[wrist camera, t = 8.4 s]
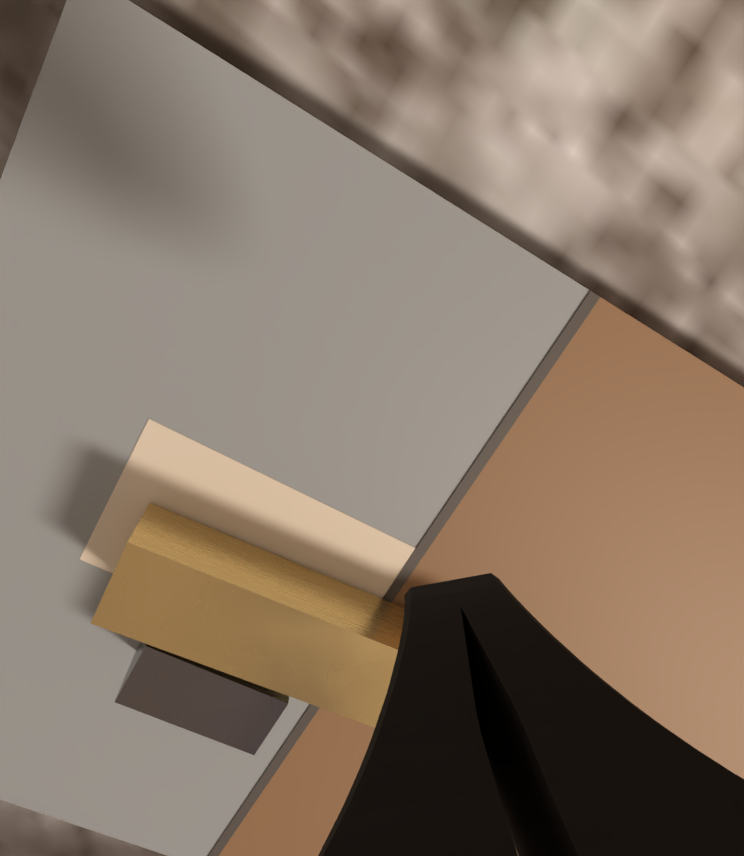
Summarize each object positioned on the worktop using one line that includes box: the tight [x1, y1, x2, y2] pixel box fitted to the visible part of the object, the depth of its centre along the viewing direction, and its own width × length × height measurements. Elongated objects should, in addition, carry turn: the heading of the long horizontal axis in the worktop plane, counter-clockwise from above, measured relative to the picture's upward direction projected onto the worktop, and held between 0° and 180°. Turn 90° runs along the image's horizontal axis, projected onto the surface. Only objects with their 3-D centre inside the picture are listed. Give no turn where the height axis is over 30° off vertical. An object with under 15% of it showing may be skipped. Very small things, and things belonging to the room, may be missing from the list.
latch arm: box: [91, 503, 404, 728], centre depth 18 cm, size 12×3×2 cm, turn 62°
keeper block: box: [115, 642, 289, 755], centre depth 18 cm, size 2×4×2 cm, turn 60°
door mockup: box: [0, 0, 744, 856], centre depth 20 cm, size 22×28×1 cm
